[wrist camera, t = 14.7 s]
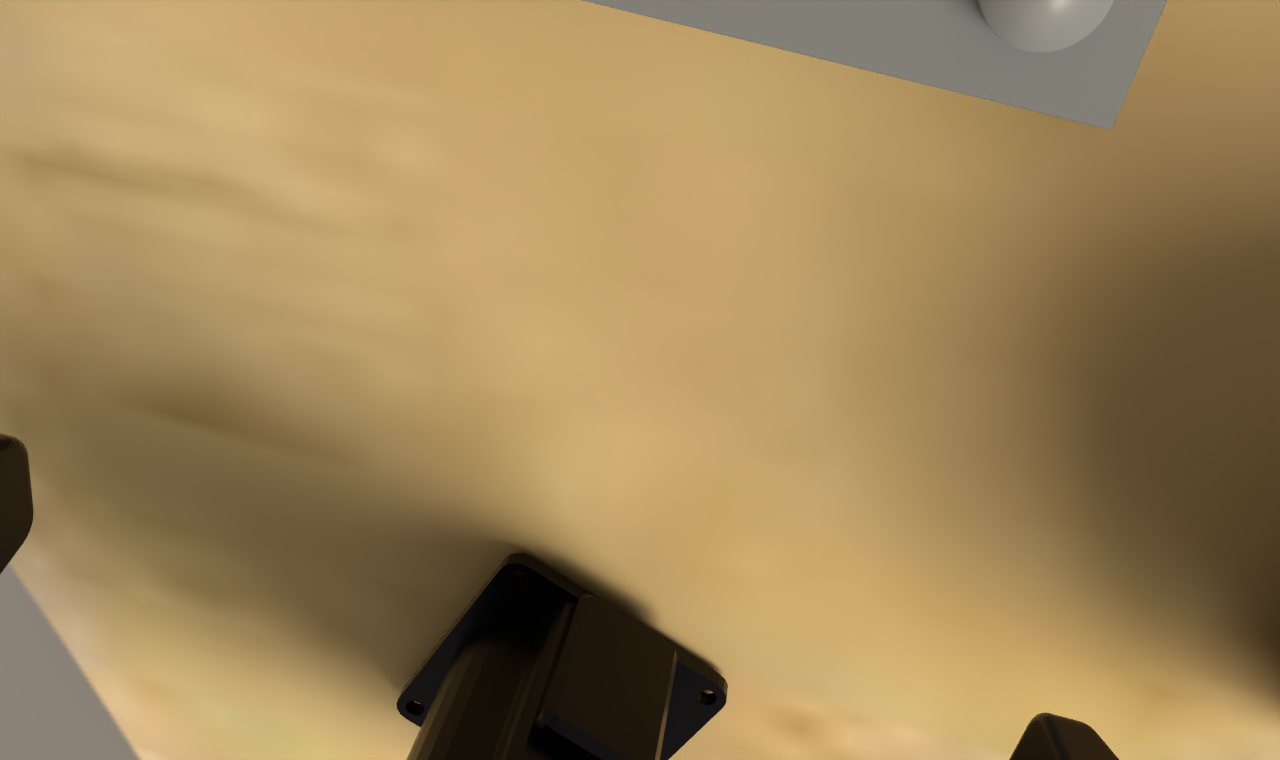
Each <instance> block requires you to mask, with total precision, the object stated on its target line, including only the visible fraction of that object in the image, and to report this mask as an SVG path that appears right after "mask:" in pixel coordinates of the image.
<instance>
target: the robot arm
mask: <svg viewBox="0 0 1280 760" xmlns="http://www.w3.org/2000/svg"><path fill="white" fill-rule="evenodd" d="M32 521H33V501H32V491H31V481H30V471H29V461H28V453H27V449H26V447H25V446H24V444H23V443H22V441H20V440H18V439H17V438H15V437H12V436H8V435H5V434H1V433H0V574H1V572H2V571H3V570H4V568H5V567H6V566H7V564H8V563H9V562H10V560H11V559H12V558H13V556H14V555H15V553H16V552H17V551H18V549H19V548H20V547H21V545H22V544H23V542H24V541H25V539H26V537H27V535H28V533H29V531H30V528H31V525H32ZM515 571H519V572H522V573H524V574H525V575H526V576H527V577H528V578H521V577H518V576H516V575H515V574H514V573H513V572H515ZM727 688H728V685H727V683H726V680H725V679H724V678H723V677H722V676H721V675H720V674H718V673H717V672H715V671H713V670H712V669H710V668H709V667H707V666H705V665H704V664H702V663H701V662H699V661H698V660H696V659H694V658H693V657H691V656H690V655H688V654H686V653H685V652H683V651H682V650H680V649H678V648H677V647H675V646H674V645H672V644H671V643H669V642H667V641H666V640H664V639H663V638H661V637H659V636H658V635H656V634H655V633H653V632H651V631H650V630H648V629H647V628H645V627H644V626H642V625H640V624H639V623H637V622H636V621H634V620H632V619H631V618H629V617H628V616H626V615H624V614H623V613H621V612H620V611H618V610H617V609H615V608H613V607H612V606H610V605H609V604H607V603H605V602H604V601H602V600H601V599H599V598H597V597H596V596H594V595H593V594H591V593H590V592H588V591H586V590H585V589H583V588H582V587H580V586H578V585H577V584H575V583H574V582H572V581H570V580H569V579H567V578H566V577H564V576H563V575H561V574H559V573H558V572H556V571H555V570H553V569H551V568H550V567H548V566H547V565H545V564H543V563H542V562H540V561H539V560H537V559H536V558H534V557H532V556H530V555H528V554H525V553H515V554H511V555H509V556H508V557H507V558H505V559H504V561H503V562H502V563H501V565H500V566H499V567H498V568H497V570H496V571H495V572H494V573H493V575H492V576H491V577H490V579H489V580H488V581H487V582H486V584H485V585H484V586H483V587H482V589H481V590H480V591H479V593H478V594H477V595H476V596H475V598H474V599H473V600H472V602H471V603H470V604H469V605H468V607H467V608H466V609H465V610H464V612H463V613H462V614H461V616H460V617H459V618H458V619H457V621H456V622H455V623H454V624H453V626H452V627H451V628H450V630H449V631H448V632H447V633H446V635H445V636H444V637H443V638H442V640H441V641H440V642H439V644H438V645H437V646H436V647H435V649H434V650H433V651H432V652H431V654H430V655H429V656H428V658H427V659H426V660H425V661H424V663H423V664H422V665H421V666H420V668H419V669H418V670H417V672H416V673H415V674H414V675H413V677H412V678H411V679H410V680H409V682H408V683H407V684H406V686H405V687H404V688H403V690H402V692H401V694H400V697H399V699H398V701H397V709H398V711H399V712H400V714H401V715H402V716H404V717H405V718H406V719H408V720H409V721H411V722H413V723H414V724H416V725H418V726H420V727H421V729H420V731H419V733H418V735H417V738H416V740H415V742H414V744H413V746H412V749H411V751H410V753H409V755H408V757H407V760H668V759H669V758H670V757H672V756H673V755H674V754H675V753H676V752H677V751H678V750H679V749H680V748H681V747H682V746H683V745H684V744H685V743H686V742H687V741H688V740H689V739H690V738H691V737H693V736H694V735H695V734H696V733H697V732H698V731H699V730H700V729H701V728H702V727H703V726H704V725H705V724H706V723H707V722H708V721H709V720H710V719H711V718H712V717H714V716H715V715H716V714H717V713H718V712H719V711H720V710H721V709H722V708H723V707H724V705H725V703H726V698H727ZM701 690H710V691H712V692H713V693H708V694H707V693H704V692H702V691H701ZM414 701H416V702H419V703H420V704H418V703H415V702H414ZM1009 760H1119V759H1118V758H1117V757H1116V755H1115V754H1114V753H1113V752H1112V751H1111V749H1110V748H1109V747H1108V746H1107V745H1106V744H1105V742H1104V741H1103V740H1102V739H1101V738H1100V736H1099V735H1098V734H1097V733H1096V732H1095V731H1094V730H1093V729H1092V728H1091V727H1090V726H1089V725H1087V724H1085V723H1083V722H1080V721H1076V720H1073V719H1069V718H1065V717H1061V716H1058V715H1054V714H1050V713H1040V714H1038V715H1036V716H1035V717H1034V718H1033V719H1032V720H1031V721H1030V723H1029V724H1028V726H1027V728H1026V730H1025V732H1024V734H1023V735H1022V737H1021V739H1020V741H1019V743H1018V745H1017V747H1016V748H1015V750H1014V752H1013V754H1012V756H1011V758H1010V759H1009Z"/></svg>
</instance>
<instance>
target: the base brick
mask: <svg viewBox="0 0 1280 760" xmlns="http://www.w3.org/2000/svg"><path fill="white" fill-rule="evenodd" d="M583 1H587V2H591V3H596V4H600V5H604V6H608V7H612V8H616V9H620V10H624V11H628V12H632V13H636V14H640V15H644V16H648V17H653V18H657V19H661V20H665V21H669V22H673V23H677V24H681V25H685V26H689V27H693V28H697V29H701V30H705V31H710V32H714V33H718V34H722V35H726V36H730V37H734V38H738V39H742V40H746V41H750V42H754V43H758V44H762V45H767V46H771V47H775V48H779V49H783V50H787V51H791V52H795V53H799V54H803V55H807V56H811V57H815V58H820V59H824V60H828V61H832V62H836V63H840V64H844V65H848V66H852V67H856V68H860V69H864V70H868V71H872V72H877V73H881V74H885V75H889V76H893V77H897V78H901V79H905V80H909V81H913V82H917V83H921V84H925V85H929V86H934V87H938V88H942V89H946V90H950V91H954V92H958V93H962V94H966V95H970V96H974V97H978V98H982V99H986V100H991V101H995V102H999V103H1003V104H1007V105H1011V106H1015V107H1019V108H1023V109H1027V110H1031V111H1035V112H1039V113H1044V114H1048V115H1052V116H1056V117H1060V118H1064V119H1068V120H1072V121H1076V122H1080V123H1084V124H1088V125H1092V126H1096V127H1101V128H1105V129H1109V130H1111V129H1112V127H1113V125H1114V122H1115V120H1116V118H1117V115H1118V113H1119V111H1120V108H1121V106H1122V104H1123V101H1124V99H1125V97H1126V95H1127V92H1128V90H1129V88H1130V85H1131V83H1132V81H1133V78H1134V76H1135V74H1136V71H1137V69H1138V67H1139V64H1140V62H1141V60H1142V57H1143V55H1144V53H1145V50H1146V48H1147V46H1148V43H1149V41H1150V39H1151V37H1152V34H1153V32H1154V30H1155V27H1156V25H1157V23H1158V20H1159V18H1160V16H1161V13H1162V11H1163V9H1164V6H1165V4H1166V2H1167V0H583Z"/></svg>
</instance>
